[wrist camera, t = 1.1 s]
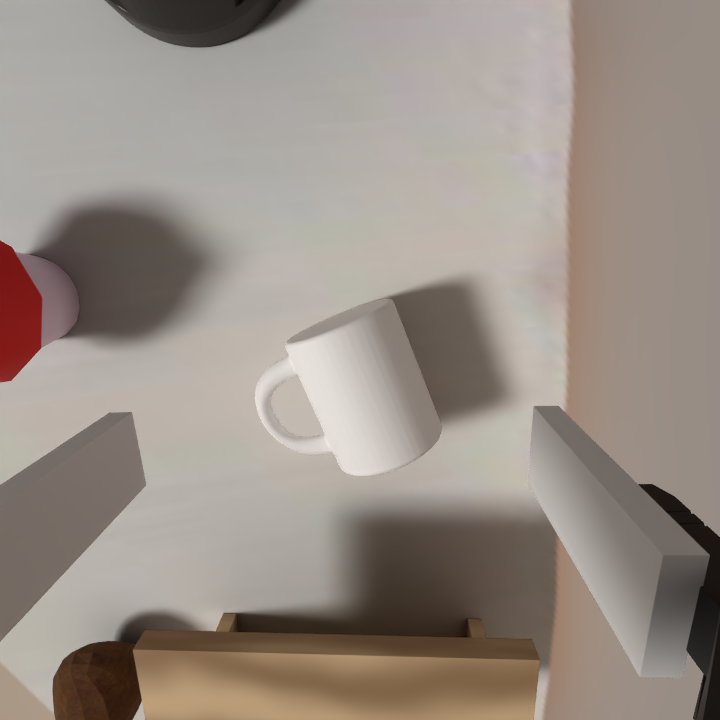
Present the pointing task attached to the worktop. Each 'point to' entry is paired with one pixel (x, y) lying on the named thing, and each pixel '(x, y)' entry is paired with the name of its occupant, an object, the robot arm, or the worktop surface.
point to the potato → (97, 683)
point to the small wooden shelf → (334, 676)
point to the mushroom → (31, 307)
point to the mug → (356, 391)
